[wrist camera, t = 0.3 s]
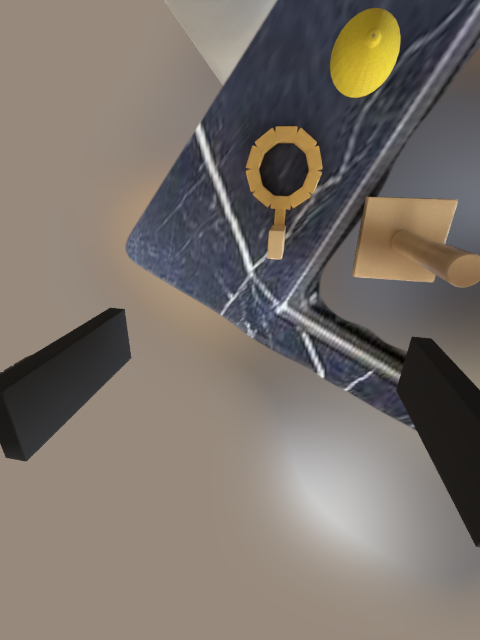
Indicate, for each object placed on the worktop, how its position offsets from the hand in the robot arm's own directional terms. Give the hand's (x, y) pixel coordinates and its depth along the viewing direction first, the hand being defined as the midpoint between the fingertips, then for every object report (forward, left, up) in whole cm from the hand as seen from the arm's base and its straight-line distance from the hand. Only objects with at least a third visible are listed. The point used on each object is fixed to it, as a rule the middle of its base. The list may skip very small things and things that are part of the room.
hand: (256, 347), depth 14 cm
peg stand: (-2, +13, -26) cm, 30 cm away
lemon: (-18, +6, -27) cm, 32 cm away
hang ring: (-6, -1, -26) cm, 27 cm away
